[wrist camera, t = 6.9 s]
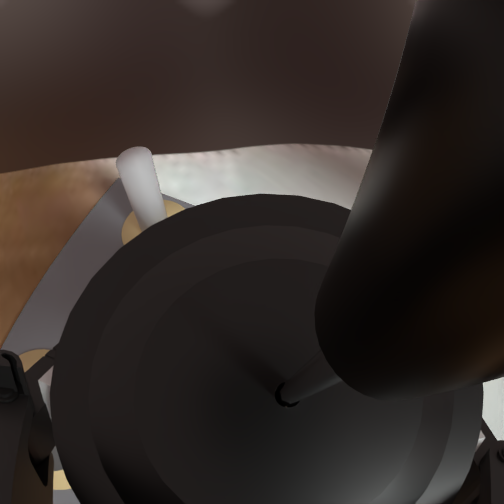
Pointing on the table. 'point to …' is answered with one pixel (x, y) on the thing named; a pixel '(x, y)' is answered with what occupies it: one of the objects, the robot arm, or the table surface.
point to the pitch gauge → (89, 267)
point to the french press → (310, 316)
